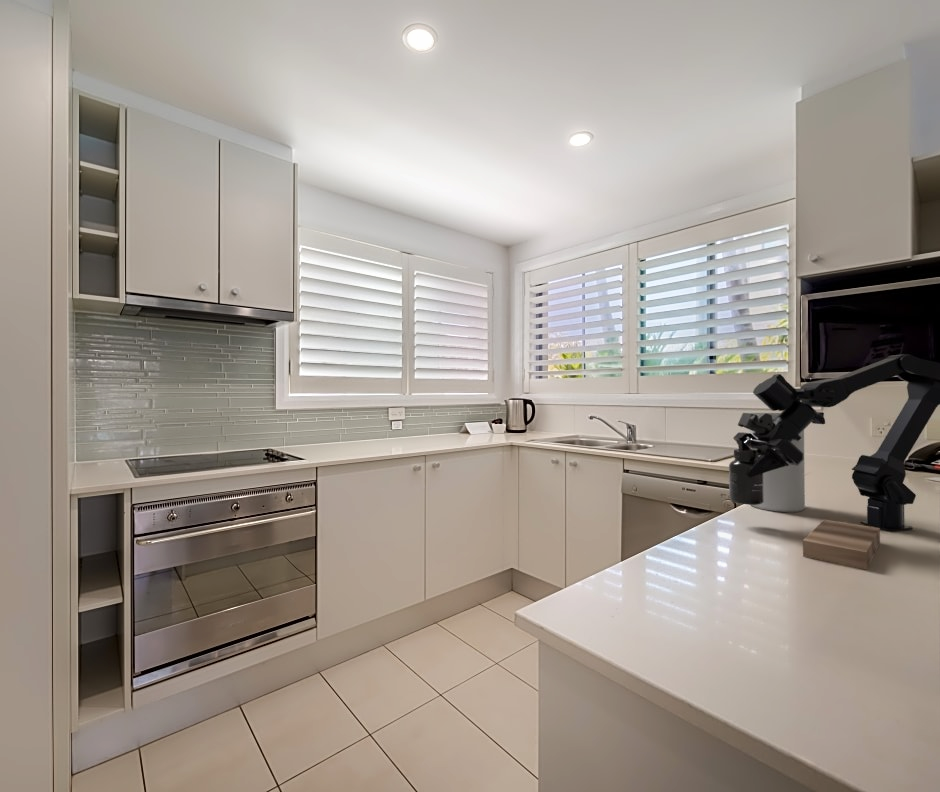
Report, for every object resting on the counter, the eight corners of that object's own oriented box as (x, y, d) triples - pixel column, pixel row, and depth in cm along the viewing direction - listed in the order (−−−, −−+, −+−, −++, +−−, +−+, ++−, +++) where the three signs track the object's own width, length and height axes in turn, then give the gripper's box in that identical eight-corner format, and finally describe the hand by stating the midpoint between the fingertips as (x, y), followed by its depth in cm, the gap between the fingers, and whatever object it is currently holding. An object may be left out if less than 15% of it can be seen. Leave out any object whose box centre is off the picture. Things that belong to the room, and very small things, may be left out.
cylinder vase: (755, 511, 118) (754, 414, 118) (743, 500, 129) (742, 412, 129) (812, 514, 114) (811, 414, 114) (794, 503, 126) (793, 412, 125)
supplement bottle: (764, 506, 100) (763, 452, 100) (728, 503, 104) (727, 451, 104) (763, 500, 106) (762, 449, 106) (730, 497, 109) (729, 447, 109)
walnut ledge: (824, 533, 98) (824, 519, 98) (879, 542, 92) (879, 528, 92) (803, 556, 85) (802, 540, 85) (866, 569, 78) (866, 552, 78)
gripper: (740, 400, 114) (696, 444, 115) (787, 401, 95) (734, 454, 96) (774, 431, 113) (729, 475, 114) (827, 438, 95) (773, 491, 95)
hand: (739, 473), depth 105 cm, fingers closed on supplement bottle, 7 cm apart
